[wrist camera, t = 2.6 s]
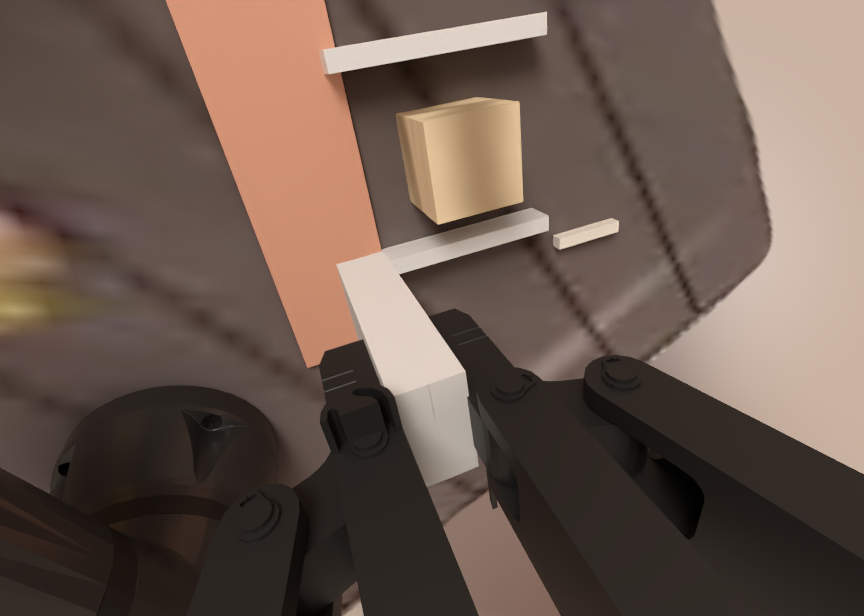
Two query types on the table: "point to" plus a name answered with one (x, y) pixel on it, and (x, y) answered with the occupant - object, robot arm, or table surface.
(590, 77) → the table surface
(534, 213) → the guide rails
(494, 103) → the maple block
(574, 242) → the strips
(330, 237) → the mat
